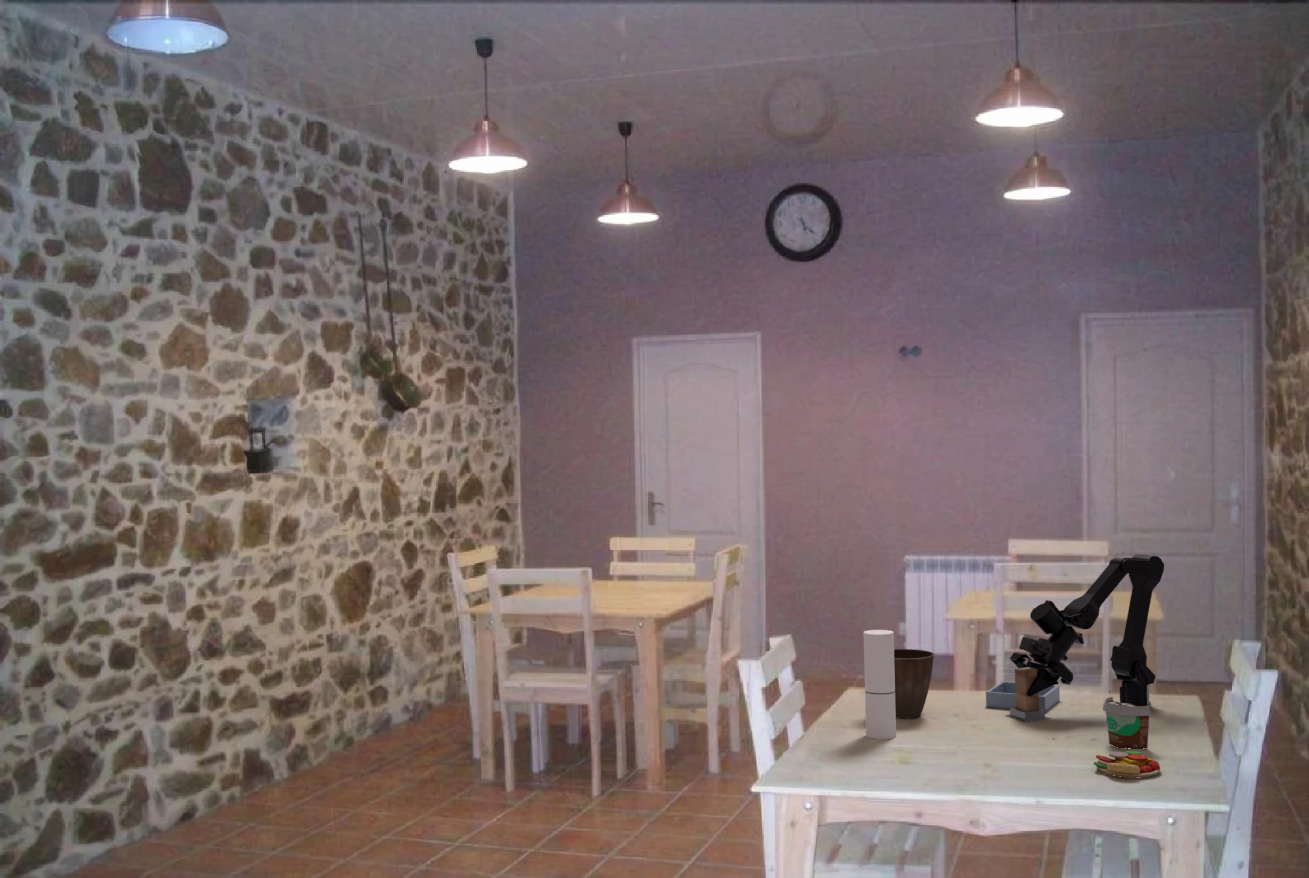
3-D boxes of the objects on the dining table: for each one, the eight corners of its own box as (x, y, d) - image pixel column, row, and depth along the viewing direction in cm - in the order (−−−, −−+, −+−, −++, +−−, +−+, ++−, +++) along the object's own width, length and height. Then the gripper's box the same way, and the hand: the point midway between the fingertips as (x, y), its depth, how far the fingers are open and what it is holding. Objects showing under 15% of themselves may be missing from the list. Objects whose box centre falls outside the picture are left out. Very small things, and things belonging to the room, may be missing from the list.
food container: (1091, 742, 300) (1090, 699, 300) (1111, 739, 302) (1110, 696, 302) (1131, 753, 289) (1130, 709, 289) (1152, 750, 291) (1151, 706, 291)
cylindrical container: (894, 732, 315) (892, 629, 314) (897, 739, 307) (894, 634, 307) (865, 732, 315) (862, 629, 315) (867, 739, 308) (864, 634, 308)
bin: (1059, 702, 342) (1059, 685, 342) (1045, 714, 329) (1045, 696, 329) (1002, 697, 350) (1002, 681, 350) (986, 709, 337) (985, 691, 337)
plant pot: (866, 712, 337) (865, 650, 337) (918, 707, 341) (917, 646, 341) (892, 724, 323) (890, 660, 323) (946, 719, 327) (944, 656, 327)
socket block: (1030, 714, 329) (1030, 704, 329) (1051, 720, 322) (1050, 710, 322) (1004, 717, 327) (1004, 707, 327) (1024, 724, 319) (1024, 713, 319)
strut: (1029, 714, 327) (1028, 667, 327) (1039, 717, 323) (1038, 669, 323) (1015, 716, 325) (1014, 668, 325) (1025, 719, 322) (1024, 671, 321)
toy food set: (1119, 783, 267) (1118, 767, 267) (1080, 767, 279) (1080, 752, 279) (1173, 776, 270) (1173, 761, 270) (1133, 761, 283) (1133, 746, 283)
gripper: (1015, 620, 334) (980, 667, 330) (1062, 630, 317) (1026, 679, 313) (1040, 648, 337) (1006, 694, 333) (1089, 659, 320) (1054, 708, 316)
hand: (1022, 693), depth 324 cm, fingers closed on strut, 4 cm apart
